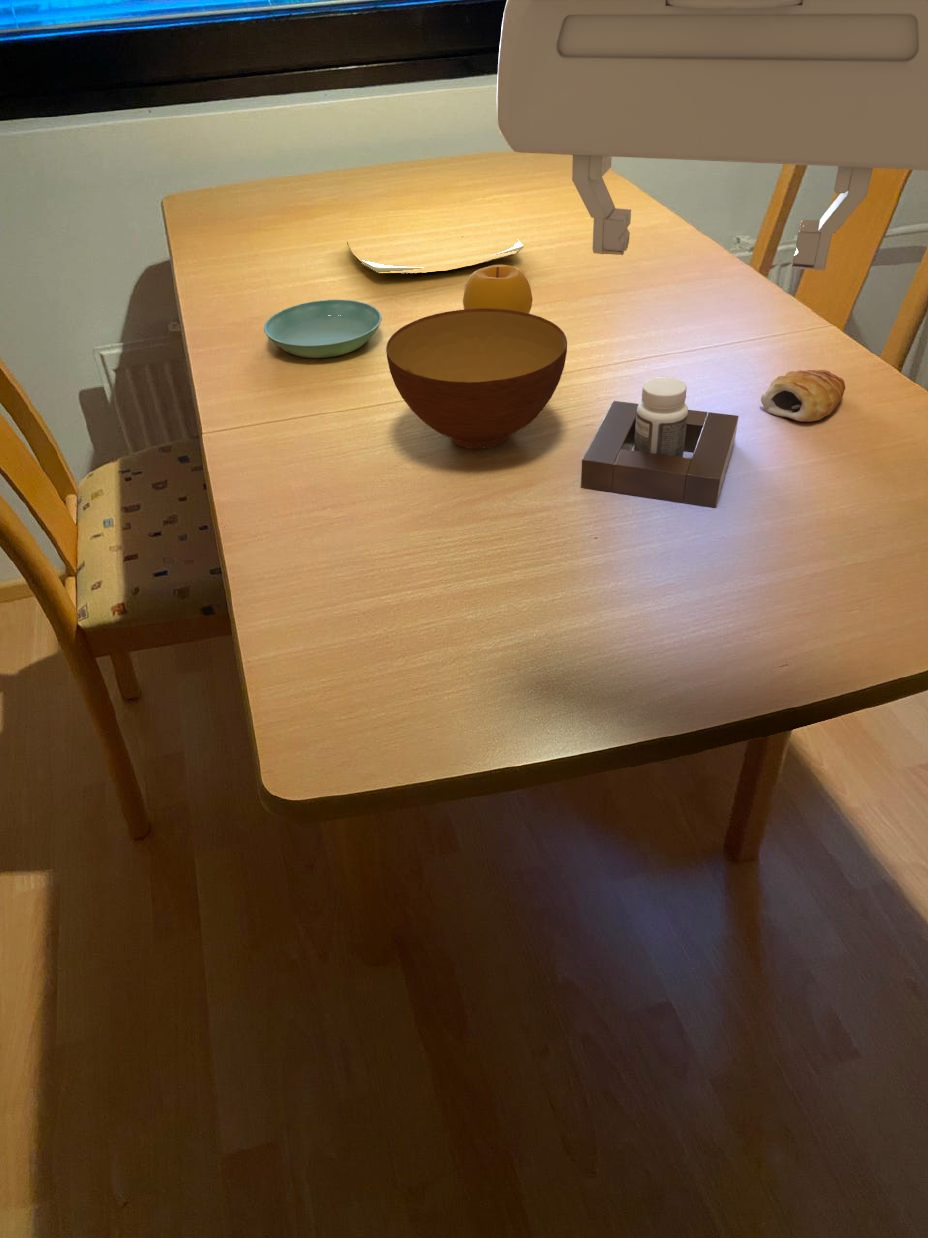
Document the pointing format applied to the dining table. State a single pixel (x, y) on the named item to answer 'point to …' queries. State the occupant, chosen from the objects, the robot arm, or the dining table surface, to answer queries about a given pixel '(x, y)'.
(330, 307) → the saucer
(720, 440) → the dock
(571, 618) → the dining table surface
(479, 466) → the dining table surface
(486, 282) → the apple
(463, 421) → the bowl
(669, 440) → the pill bottle
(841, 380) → the pastry
